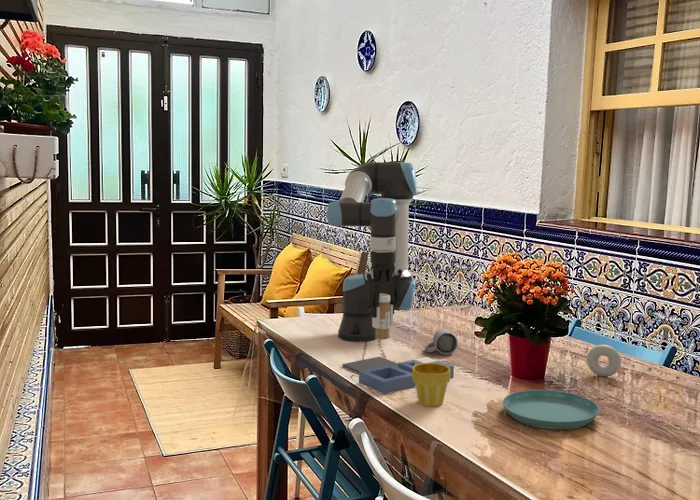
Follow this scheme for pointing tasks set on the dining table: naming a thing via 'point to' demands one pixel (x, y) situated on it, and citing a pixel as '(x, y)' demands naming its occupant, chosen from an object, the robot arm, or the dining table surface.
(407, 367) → the dish
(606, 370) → the donut
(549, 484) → the dining table surface
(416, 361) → the cream block
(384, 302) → the sprinkles bottle
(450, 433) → the dining table surface
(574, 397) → the saucer
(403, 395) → the dining table surface
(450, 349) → the ceramic mug
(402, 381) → the dish
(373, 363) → the mat
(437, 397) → the plant pot
